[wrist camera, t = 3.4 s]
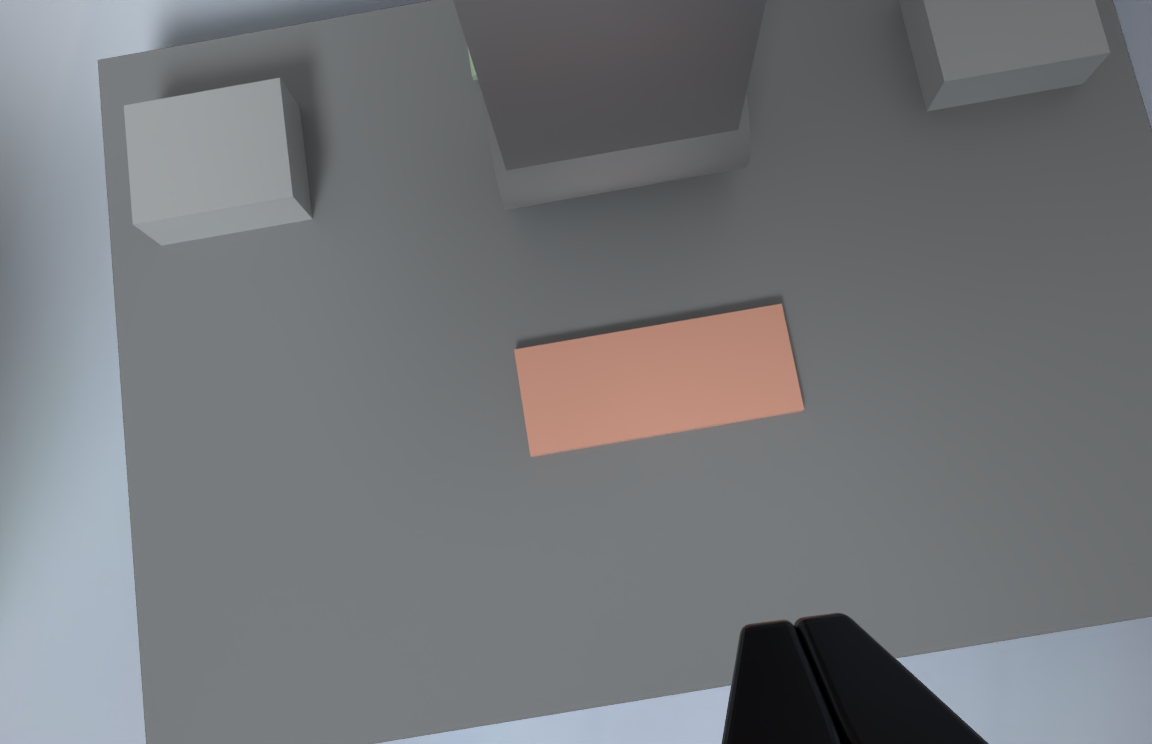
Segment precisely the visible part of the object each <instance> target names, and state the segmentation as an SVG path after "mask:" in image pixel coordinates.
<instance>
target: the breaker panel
mask: <svg viewBox="0 0 1152 744" xmlns="http://www.w3.org/2000/svg"><path fill="white" fill-rule="evenodd" d="M98 70H99V84H100V98H101V112H102V127H103V141H104V155H105V169H106V183H107V197H108V211H109V225H110V239H111V254H112V268H113V282H114V296H115V310H116V324H117V338H118V352H119V366H120V381H121V395H122V409H123V423H124V437H125V451H126V465H127V479H128V493H129V508H130V522H131V536H132V550H133V564H134V578H135V592H136V606H137V620H138V635H139V649H140V663H141V677H142V691H143V705H144V719H145V733H146V744H375V743H381V742H387V741H393V740H399V739H405V738H411V737H417V736H424V735H430V734H436V733H442V732H448V731H454V730H460V729H466V728H472V727H479V726H485V725H491V724H497V723H503V722H509V721H515V720H521V719H528V718H534V717H540V716H546V715H552V714H558V713H564V712H570V711H576V710H583V709H589V708H595V707H601V706H607V705H613V704H619V703H625V702H631V701H638V700H644V699H650V698H656V697H662V696H668V695H674V694H680V693H687V692H693V691H699V690H705V689H711V688H717V687H723V686H729V685H731V684H732V678H733V672H734V666H735V660H736V654H737V648H738V642H739V636H740V632H741V629H742V628H743V627H744V626H745V625H747V624H753V623H761V622H768V621H776V620H788V621H790V622H791V623H792V624H793V625H794V623H795V621H797V620H798V619H799V618H801V617H808V616H816V615H824V614H832V613H842V614H845V615H847V616H849V617H850V618H852V619H853V620H854V621H855V622H856V623H857V624H858V625H859V626H860V627H861V628H863V629H864V630H865V631H866V632H867V633H868V634H869V635H870V636H871V637H872V638H874V639H875V640H876V641H877V642H878V643H879V644H880V645H881V646H882V647H883V648H884V649H886V650H887V651H888V652H889V653H890V654H891V655H892V656H893V657H894V658H901V657H907V656H913V655H919V654H925V653H931V652H937V651H943V650H949V649H956V648H962V647H968V646H974V645H980V644H986V643H992V642H998V641H1005V640H1011V639H1017V638H1023V637H1029V636H1035V635H1041V634H1047V633H1053V632H1060V631H1066V630H1072V629H1078V628H1084V627H1090V626H1096V625H1102V624H1108V623H1115V622H1121V621H1127V620H1133V619H1139V618H1145V617H1151V616H1152V130H1151V126H1150V123H1149V120H1148V116H1147V113H1146V110H1145V106H1144V103H1143V100H1142V96H1141V93H1140V90H1139V86H1138V83H1137V80H1136V76H1135V73H1134V70H1133V66H1132V63H1131V60H1130V56H1129V53H1128V50H1127V46H1126V43H1125V40H1124V36H1123V33H1122V30H1121V27H1120V23H1119V20H1118V17H1117V13H1116V10H1115V7H1114V3H1113V0H766V4H765V9H764V13H763V18H762V23H761V27H760V32H759V36H758V41H757V46H756V50H755V55H754V60H753V64H752V69H751V73H750V78H749V83H748V87H747V92H746V94H747V101H748V110H749V121H750V158H749V163H748V166H747V167H746V168H743V169H737V170H731V171H726V172H720V173H714V174H709V175H703V176H697V177H691V178H686V179H680V180H674V181H669V182H663V183H657V184H651V185H646V186H640V187H634V188H628V189H623V190H617V191H611V192H606V193H600V194H594V195H588V196H583V197H577V198H571V199H566V200H560V201H554V202H548V203H543V204H537V205H531V206H525V207H520V208H514V209H508V210H505V209H504V207H503V204H502V200H501V197H500V193H499V189H498V185H497V180H496V176H495V171H494V167H493V162H492V157H491V152H490V146H489V141H488V135H487V130H486V124H485V118H484V111H483V104H482V97H481V88H480V85H479V81H478V78H477V75H476V72H475V69H474V65H473V62H472V59H471V56H470V53H469V49H468V46H467V43H466V40H465V36H464V33H463V30H462V27H461V24H460V20H459V17H458V14H457V11H456V8H455V4H454V1H453V0H430V1H424V2H419V3H413V4H407V5H402V6H396V7H391V8H385V9H380V10H374V11H369V12H363V13H357V14H352V15H346V16H341V17H335V18H330V19H324V20H318V21H313V22H307V23H302V24H296V25H291V26H285V27H279V28H274V29H268V30H263V31H257V32H252V33H246V34H240V35H235V36H229V37H224V38H218V39H213V40H207V41H202V42H196V43H190V44H185V45H179V46H174V47H168V48H163V49H157V50H151V51H146V52H140V53H135V54H129V55H124V56H118V57H112V58H107V59H101V60H98Z"/></svg>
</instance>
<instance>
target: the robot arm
mask: <svg viewBox="0 0 1152 744" xmlns="http://www.w3.org/2000/svg"><path fill="white" fill-rule="evenodd" d="M722 744H988V743H987V742H986V741H985V740H984V739H983V738H982V737H981V736H980V735H978V734H977V733H976V732H975V731H974V730H973V729H972V728H971V727H970V726H969V725H968V724H966V723H965V722H964V721H963V720H962V719H961V718H960V717H959V716H958V715H957V714H955V713H954V712H953V711H952V710H951V709H950V708H949V707H948V706H947V705H946V704H945V703H943V702H942V701H941V700H940V699H939V698H938V697H937V696H936V695H935V694H934V693H933V692H931V691H930V690H929V689H928V688H927V687H926V686H925V685H924V684H923V683H922V682H921V681H919V680H918V679H917V678H916V677H915V676H914V675H913V674H912V673H911V672H910V671H908V670H907V669H906V668H905V667H904V666H903V665H902V664H901V663H900V662H899V661H898V660H896V659H895V658H894V657H893V656H892V655H891V654H890V653H889V652H888V651H887V650H886V649H884V648H883V647H882V646H881V645H880V644H879V643H878V642H877V641H876V640H875V639H874V638H872V637H871V636H870V635H869V634H868V633H867V632H866V631H865V630H864V629H863V628H861V627H860V626H859V625H858V624H857V623H856V622H855V621H854V620H853V619H852V618H850V617H849V616H847V615H845V614H842V613H832V614H824V615H816V616H808V617H801V618H799V619H798V620H797V621H795V623H794V625H793V624H792V623H791V622H790V621H788V620H776V621H768V622H761V623H753V624H747V625H745V626H744V627H743V628H742V629H741V632H740V636H739V642H738V648H737V654H736V660H735V666H734V672H733V678H732V684H731V690H730V696H729V702H728V709H727V715H726V721H725V727H724V733H723V739H722Z"/></svg>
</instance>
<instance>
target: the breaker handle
mask: <svg viewBox="0 0 1152 744" xmlns="http://www.w3.org/2000/svg"><path fill="white" fill-rule="evenodd" d="M453 1H454V4H455V8H456V11H457V14H458V17H459V20H460V24H461V27H462V30H463V33H464V36H465V40H466V43H467V46H468V49H469V53H470V56H471V59H472V62H473V65H474V69H475V72H476V75H477V78H478V81H479V85H480V88H481V97H482V104H483V111H484V118H485V124H486V130H487V135H488V141H489V146H490V152H491V157H492V162H493V167H494V171H495V176H496V180H497V185H498V189H499V193H500V197H501V200H502V204H503V207H504V209H505V210H508V209H514V208H520V207H525V206H531V205H537V204H543V203H548V202H554V201H560V200H566V199H571V198H577V197H583V196H588V195H594V194H600V193H606V192H611V191H617V190H623V189H628V188H634V187H640V186H646V185H651V184H657V183H663V182H669V181H674V180H680V179H686V178H691V177H697V176H703V175H709V174H714V173H720V172H726V171H731V170H737V169H743V168H746V167H747V166H748V163H749V158H750V121H749V110H748V101H747V94H746V92H747V87H748V83H749V78H750V73H751V69H752V64H753V60H754V55H755V50H756V46H757V41H758V36H759V32H760V27H761V23H762V18H763V13H764V9H765V4H766V0H453Z"/></svg>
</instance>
